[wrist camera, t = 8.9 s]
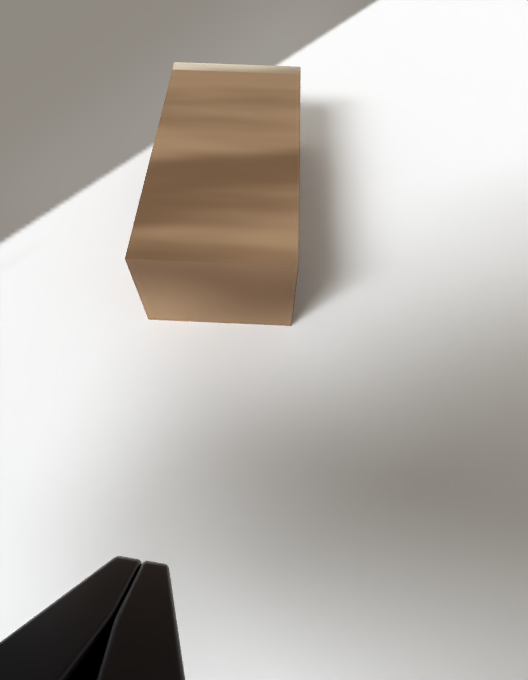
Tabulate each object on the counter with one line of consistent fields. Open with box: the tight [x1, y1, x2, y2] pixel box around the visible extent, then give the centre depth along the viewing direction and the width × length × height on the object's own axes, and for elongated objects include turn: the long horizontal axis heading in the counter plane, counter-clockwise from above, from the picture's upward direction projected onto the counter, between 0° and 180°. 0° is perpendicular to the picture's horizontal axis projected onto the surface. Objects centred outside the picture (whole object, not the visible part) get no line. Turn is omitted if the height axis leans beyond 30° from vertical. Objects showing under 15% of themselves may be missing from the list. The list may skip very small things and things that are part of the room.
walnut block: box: [125, 62, 300, 326], centre depth 21 cm, size 4×6×12 cm
